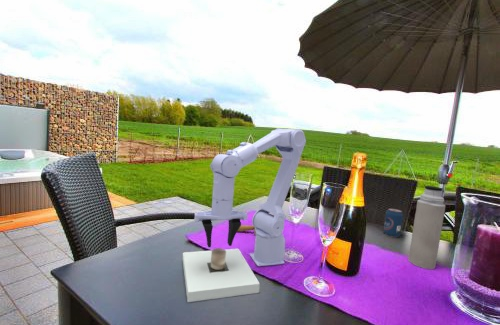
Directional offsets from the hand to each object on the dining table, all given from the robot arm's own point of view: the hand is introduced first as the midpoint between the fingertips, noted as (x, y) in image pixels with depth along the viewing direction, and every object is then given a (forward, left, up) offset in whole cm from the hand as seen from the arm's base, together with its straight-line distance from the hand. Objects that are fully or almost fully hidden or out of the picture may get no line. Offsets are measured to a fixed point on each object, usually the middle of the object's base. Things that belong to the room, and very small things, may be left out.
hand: (219, 245), depth 69 cm
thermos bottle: (-73, +6, -9) cm, 74 cm away
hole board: (0, 0, -9) cm, 9 cm away
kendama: (-21, -28, -9) cm, 36 cm away
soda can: (-86, -18, -9) cm, 88 cm away
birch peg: (0, 0, -9) cm, 9 cm away
